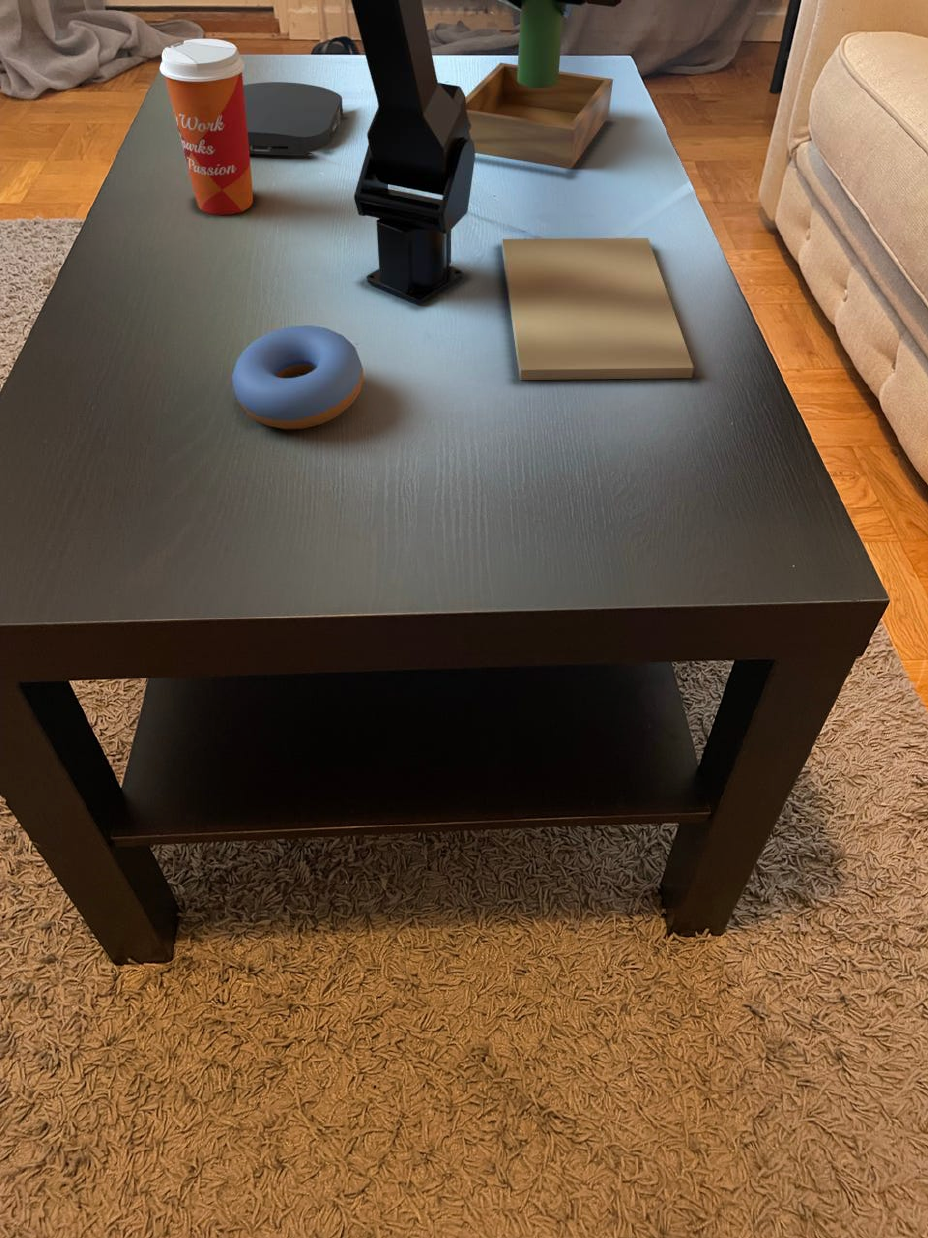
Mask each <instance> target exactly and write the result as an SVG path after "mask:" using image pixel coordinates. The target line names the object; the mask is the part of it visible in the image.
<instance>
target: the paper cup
mask: <svg viewBox="0 0 928 1238" xmlns="http://www.w3.org/2000/svg"><path fill="white" fill-rule="evenodd" d="M238 49H239V48H237V47H236V45H235V44H233V43H232V42H229V41H227V40H223V39H217V38H194V39H193V38H192V39H186V40H183V42H178V43H174V44H172V45H171V46H170V47H168V46H166V47H165V48H163V50H162V53H161V62H160V65H159V72H160V73H161V74H162V75H163V76H164V78H165V81H166V85H167V90H168V94H169V99H170V103H171V106H172V110H173V114H174V118H175V123H176V126H177V130H178V133H179V137H180V141H181V145H182V146H181V147H182V150H183V154H184V157H185V162H186V165H187V170H188V173H189V177H190V181H191V184H192V185H191V186H192V189H193V193H194V196H195V201H196V204H197V205H198V208H199V209H200V210H201V211H203V212H205V213H206V214H211V215H218V216H226V215H233V214H238V213H241V212H244V211H246V210H247V209H249V208H250V207H251V206H252V205H253V202H254V200H253V199H254V194H253V193H254V192H253V180H252V169H251V156H250V154H249V143H248V132H247V121H246V110H245V99H244V88H243V85H244V78H243V70H244V68H245V65H246V63H245V61H244V59H243V58H242V57H241V56H240V53H239V50H238Z"/></svg>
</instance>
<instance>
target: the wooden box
mask: <svg viewBox="0 0 928 1238" xmlns="http://www.w3.org/2000/svg"><path fill="white" fill-rule="evenodd" d="M517 73H518V64H513V63H505V62H500V63H499V64H497V65H496V66H495V68H493V69H492V70H491V72H489V73H488V75H486V76H485V77H484V78H483V79H481V81H480V82H479V83H478V84H477V85H476V86H475V87H474V88H473V89H472V90H471V91H470V92H469V93H468V94H467V95H465V97H466V109H467V116H468V119H469V122H470V124H471V129H470V130H469V133H470V137H471V140H472V141H473V143H474V147H475V154H479V155H485V156H491V157H497V158H503V159H508V160H514V161H520V162H525V163H532V164H539V165H543V166H549V167H556V168H561V169H568V170H572V168H573V167H574V166H575V165H576V164H577V162H578V160H579V159H580V157H581V156H582V154H583V153H584V152H585V151H586V149H587V147H588V146H589V144H590V143H591V142H592V140H593V138H595V136H596V135H597V133H598V132H599V131H600V129H602V126H603V125H604V123H605V122H606V121H607V119H609V116H610V108H611V99H612V92H613V82H614V78H610V77H609V78H608V77H601V76H594V75H588V74H581V73H574V72H567V71H560V70H559V76H558V83H557V84H556V85H555V86H552V87H549V88H530V87H526V86H523V85H521V84H519V83H518V81H517Z"/></svg>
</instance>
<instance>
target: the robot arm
mask: <svg viewBox="0 0 928 1238" xmlns="http://www.w3.org/2000/svg"><path fill="white" fill-rule="evenodd" d="M497 1H499V2H500V3H502V4H505V5H507V6H509V7H511V8H513V9H515V10H517V11H519V12H521V0H497ZM555 1H556V4H557V6H558V8H559V10H560V12H561V14H562V15H563V18H566V19H568V18H569V17H570V13H571V10H572V9H573V8H574V7H577V6H578V7H581V6H584V5H585V4H588V5H594V6H595V5H596V6H602V7H603V6H604V7H612V8H615V7H617V6H618V5H620V4H621V3H622V2H623V0H555ZM350 3H351V8H352V11H353V15H354V18H355V22H356V26H357V30H358V33H359V37H360V40H361V41H360V42H361V44H362V48H363V51H364V56H365V59H366V63H367V67H368V70H369V71H368V72H369V74H370V78H371V82H372V85H373V89H374V93H375V97H376V101H377V109H376V111H375V113H374V116H373V118H372V120H371V123H370V126H369V128H368V131H367V133H366V138H367V143H368V144H367V149H366V151H365V156H364V160H363V162H362V167H361V170H360V174H359V177H358V180H357V184H356V188H355V191H354V196H353V200H354V203H355V207H356V211H357V214H358V216H360V217H369V218H370V217H371V218H376V219H377V220H376V238H377V257H378V268H377V269H376V270H375V271H373V272H371V273H369V274H368V275H366V282H367V283H368V284H370V285H372V286H374V287H377V288H380V289H381V290H384V291H386V292H388V293H391V294H393V295H396V296H397V297H400V298H403V299H404V300H407V301H410V302H412V303H415V304H419V305H420V304H425V302H427V301H428V300H430V299H431V298H434V297H435V296H437V295H438V294H440V293H441V292H443V291H444V290H446V289H448V288H449V287H451V286H452V285H454V284H456V283H457V282H458V281H460V280H461V279H463V277H464V272H463V270H461V269H458V268H456V267H453V266H451V263H452V229H453V228H454V227H455V226H456V225H457V224H458V223H459V222H460V221H461V220H462V219H463V218H464V217H465V216H466V215H467V214H468V211H469V206H470V205H469V204H470V198H471V197H470V196H471V190H472V182H473V176H474V170H475V169H474V168H475V162H476V161H475V160H476V153H475V147H474V143H473V141H472V140H471V137H470V133H469V130H470V129H471V124H470V122H469V119H468V116H467V109H466V95H465V93H464V91H463V89H462V87H461V86H460V85H455V84H449V83H442V82H439V81H438V77H437V74H436V73H437V72H436V67H435V62H434V57H433V51H432V47H431V42H430V37H429V32H428V27H427V22H426V16H425V12H424V6H423V1H422V0H350ZM389 186H393V187H398V188H404V189H409V190H414V191H419V192H424V193H428V194H433V195H438V196H442V198H441V199H440V198H436V197H431V196H426V195H420V194H415V193H411V192H406V191H402V190H395V189H391V188H389Z"/></svg>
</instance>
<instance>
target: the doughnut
mask: <svg viewBox="0 0 928 1238" xmlns="http://www.w3.org/2000/svg"><path fill="white" fill-rule="evenodd" d="M363 378H364V367H363V366H362V361H361V359H360V356H359V353H358V351H357V348H356V346H355V345H354V344H352V342H350V341H349V340H348V338H346V337H345V336H344V335H343V334H341V333H338V332H336V331H335V330H332V329H329V328H328V327H323V326H318V325H317V326H316V325H311V324H310V325H309V324H308V325H292V326H288V327H283V328H280V329H276V330H273V331H270V332H268V333H266V334H264V335H262V336H260V337H258V338H257V339H256V340H254V341H253V342H252V343H250V344H249V345H247V347H246V348H245V349H244V350H243V351H242V353H240V355H239V356H238V358H237V359H236V361H235V365H234V368H233V372H232V374H231V380H232V382H231V383H232V387H233V391H234V396H235V397H236V399H237V403H238V404H239V405H240V407H241V408H242V409H243V410H244V411H245V412H246V414H247V415H248V416H249V417H250V418H252V420H256V421H257V422H259V423H261V424H263V425H265V426H267V427H272V428H278V429H283V430H296V429H297V430H301V429H307V428H311V427H315V426H319V425H322V424H324V423H327V422H329V421H331V420H333V419H335V418H337V417H338V416H339V415H341V414H342V413H343V412H344V411H346V409H348V408H349V407H350V406H352V404H354V401H356V399H357V397H358V395H360V392H361V390H362V387H363V380H364V379H363Z"/></svg>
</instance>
